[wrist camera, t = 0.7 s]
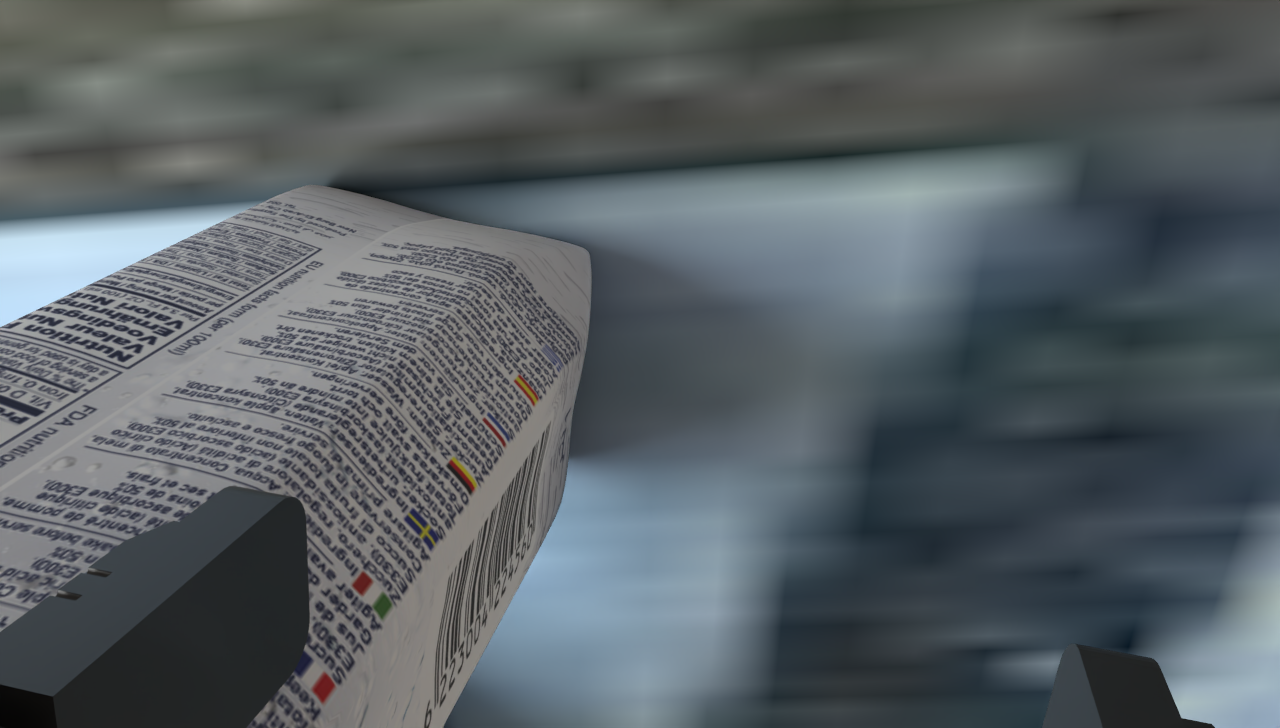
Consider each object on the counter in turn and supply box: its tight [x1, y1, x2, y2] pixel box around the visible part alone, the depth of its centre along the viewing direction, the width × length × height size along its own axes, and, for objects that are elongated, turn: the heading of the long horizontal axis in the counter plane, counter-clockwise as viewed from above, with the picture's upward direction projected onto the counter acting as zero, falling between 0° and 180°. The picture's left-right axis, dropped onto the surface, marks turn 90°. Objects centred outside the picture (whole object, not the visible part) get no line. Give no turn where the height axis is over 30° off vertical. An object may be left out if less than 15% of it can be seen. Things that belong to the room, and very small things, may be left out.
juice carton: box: [0, 185, 592, 728], centre depth 19 cm, size 9×10×27 cm
